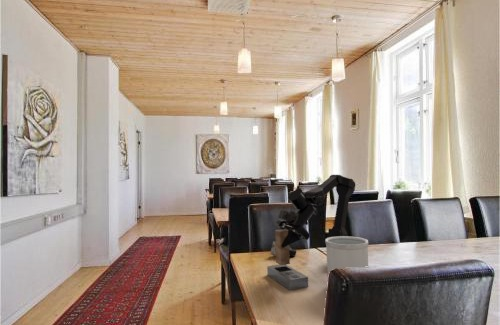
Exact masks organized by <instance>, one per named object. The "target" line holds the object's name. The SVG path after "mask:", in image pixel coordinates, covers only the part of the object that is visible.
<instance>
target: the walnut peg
mask: <svg viewBox="0 0 500 325" xmlns="http://www.w3.org/2000/svg"><path fill="white" fill-rule="evenodd" d="M274 232H275V233H274V234H275V242H276V256H275V263H276V264H277V265H290V263H291V262H290V254H289V247H290V245H288V246H286V247H284V248H282V247H281V245H282V243H283V242H284V240H285V238H286V237H287V235H288V231H287V230H285V229H283V230H280V229H275V231H274Z"/></svg>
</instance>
